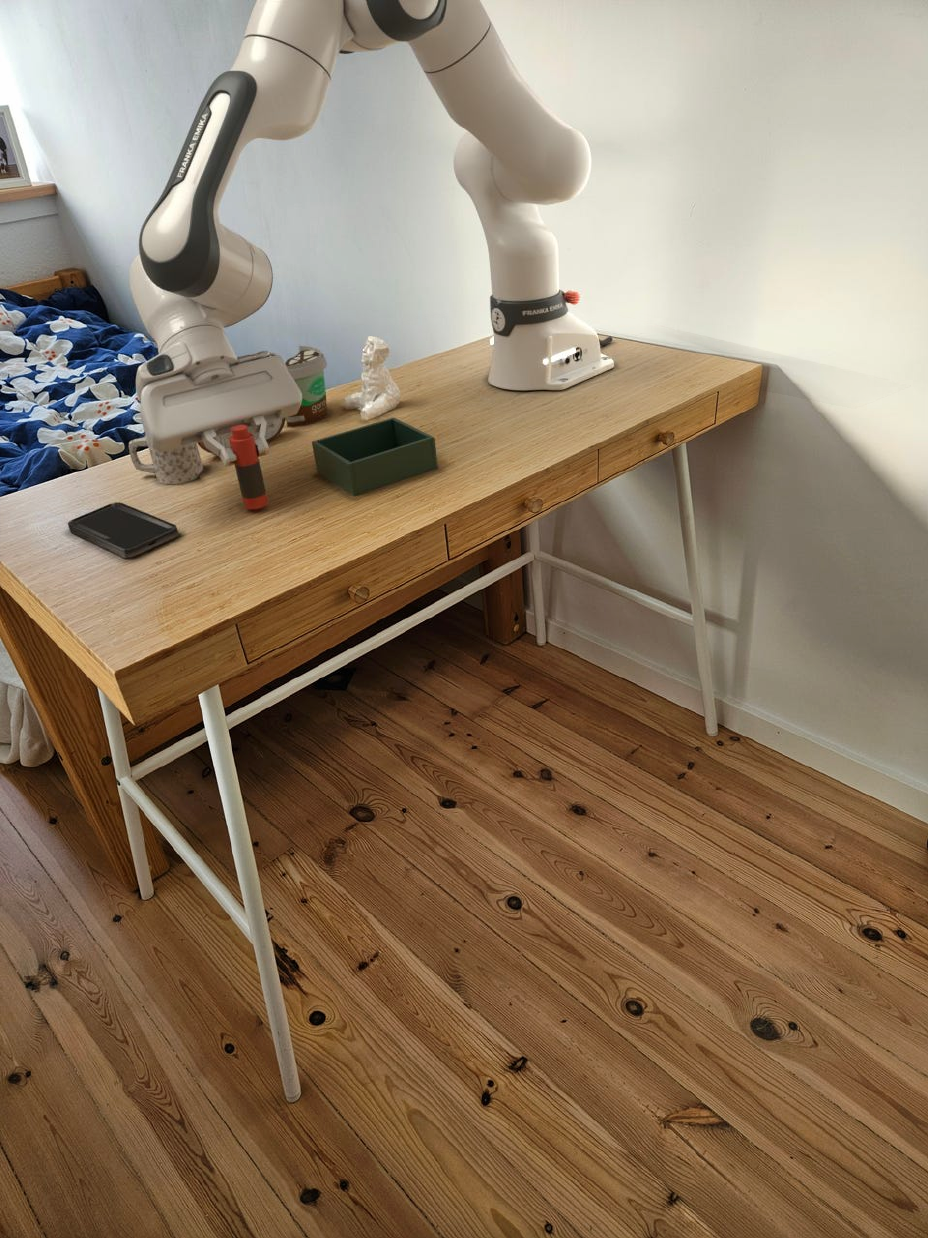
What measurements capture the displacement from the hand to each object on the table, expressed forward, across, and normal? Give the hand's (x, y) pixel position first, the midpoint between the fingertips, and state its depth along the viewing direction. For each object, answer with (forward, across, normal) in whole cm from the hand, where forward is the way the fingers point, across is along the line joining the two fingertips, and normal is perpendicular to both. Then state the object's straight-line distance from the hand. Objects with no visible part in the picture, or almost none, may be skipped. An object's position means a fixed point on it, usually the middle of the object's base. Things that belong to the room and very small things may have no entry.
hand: (247, 458), depth 113 cm
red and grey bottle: (+4, 0, -5) cm, 7 cm away
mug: (-10, +5, -21) cm, 24 cm away
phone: (0, +16, -11) cm, 19 cm away
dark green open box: (+5, -18, -6) cm, 20 cm away
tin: (-11, -8, -23) cm, 27 cm away
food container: (-15, -22, -26) cm, 37 cm away
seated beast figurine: (-12, -31, -23) cm, 40 cm away
